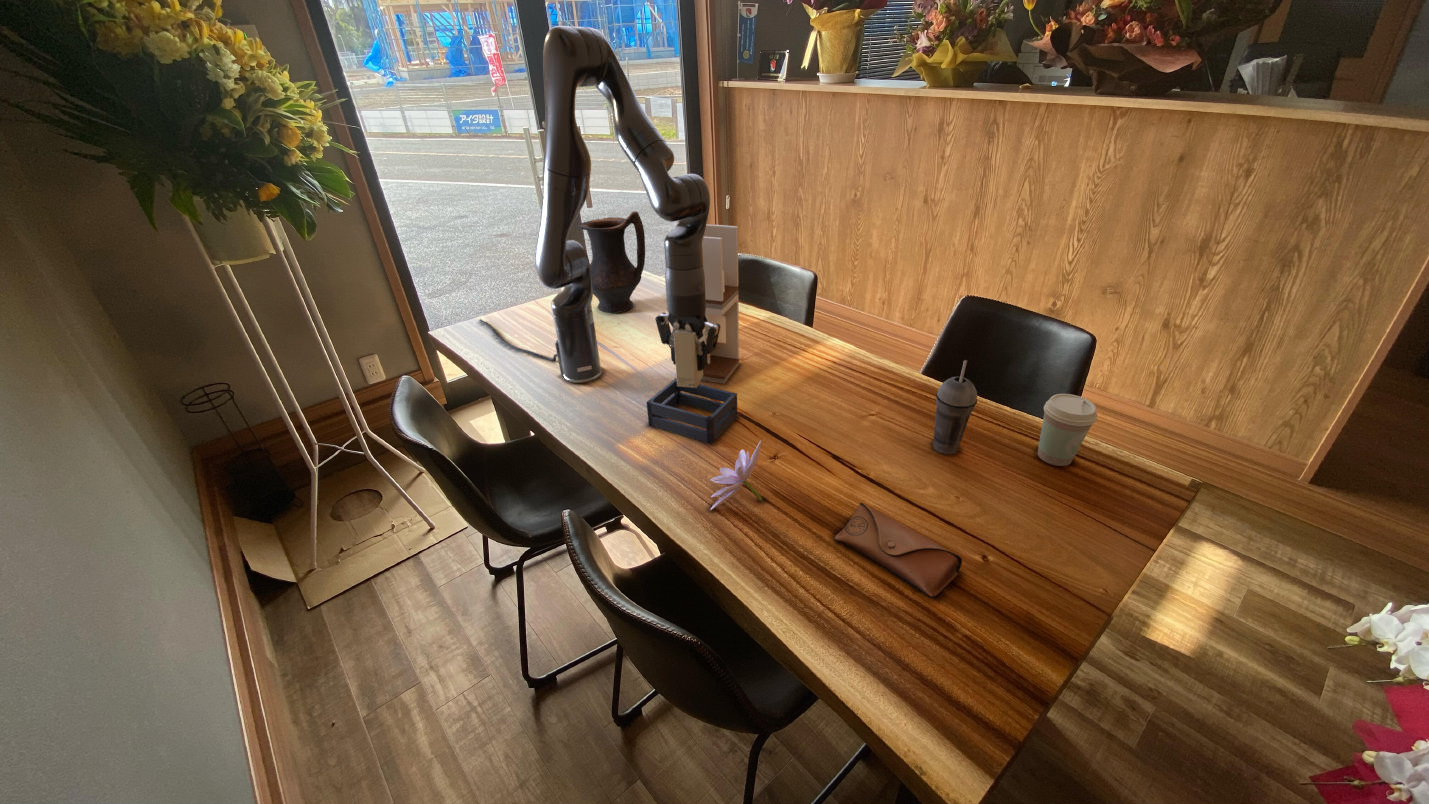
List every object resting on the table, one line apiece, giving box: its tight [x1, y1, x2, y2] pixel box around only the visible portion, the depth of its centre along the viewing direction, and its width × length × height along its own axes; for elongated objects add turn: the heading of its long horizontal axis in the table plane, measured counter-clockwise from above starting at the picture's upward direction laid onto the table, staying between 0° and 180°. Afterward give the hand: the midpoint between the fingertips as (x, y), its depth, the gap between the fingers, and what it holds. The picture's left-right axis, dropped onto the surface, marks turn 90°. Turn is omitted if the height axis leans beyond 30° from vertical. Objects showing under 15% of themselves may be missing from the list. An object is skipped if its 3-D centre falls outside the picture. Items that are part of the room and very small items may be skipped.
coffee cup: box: [1037, 393, 1098, 467], centre depth 107 cm, size 8×9×12 cm
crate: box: [646, 377, 738, 445], centre depth 123 cm, size 16×12×6 cm
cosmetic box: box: [674, 329, 703, 388], centre depth 116 cm, size 6×4×12 cm
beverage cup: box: [932, 359, 978, 455], centre depth 108 cm, size 7×7×20 cm
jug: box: [577, 211, 646, 314], centre depth 174 cm, size 21×18×30 cm
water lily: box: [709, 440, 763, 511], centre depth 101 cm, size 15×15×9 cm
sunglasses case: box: [834, 502, 963, 598], centre depth 89 cm, size 18×7×7 cm
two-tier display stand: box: [700, 223, 740, 385], centre depth 135 cm, size 11×11×35 cm
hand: (689, 365), depth 117 cm, fingers closed on cosmetic box, 5 cm apart
